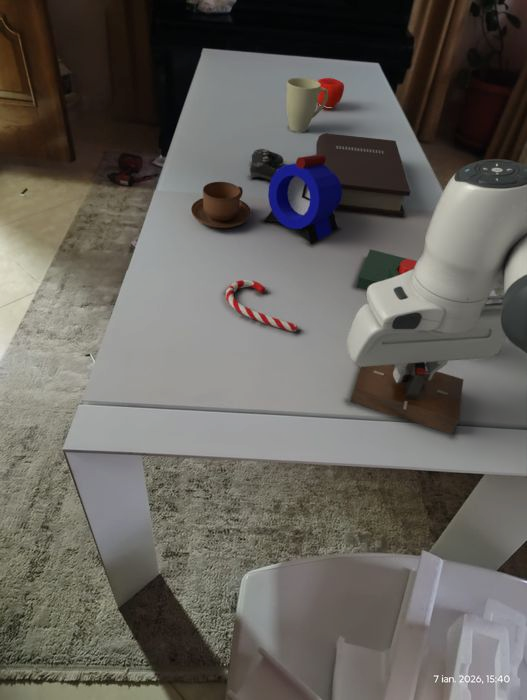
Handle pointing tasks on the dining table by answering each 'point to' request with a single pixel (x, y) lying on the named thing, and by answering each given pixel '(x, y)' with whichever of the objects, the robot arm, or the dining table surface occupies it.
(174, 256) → the dining table surface
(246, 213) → the cup and saucer
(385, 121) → the dining table surface
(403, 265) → the red button
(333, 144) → the book
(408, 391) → the red-tipped grey bar
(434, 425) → the control panel
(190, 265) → the dining table surface
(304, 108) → the mug
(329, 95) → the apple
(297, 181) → the alarm clock
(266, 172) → the gaming controller
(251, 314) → the candy cane
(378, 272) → the button box
